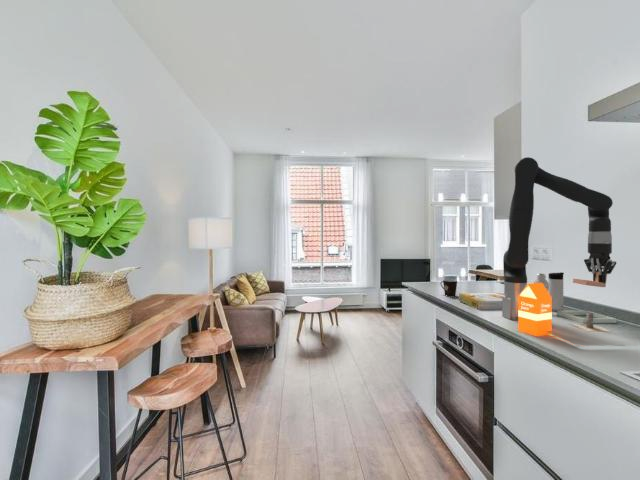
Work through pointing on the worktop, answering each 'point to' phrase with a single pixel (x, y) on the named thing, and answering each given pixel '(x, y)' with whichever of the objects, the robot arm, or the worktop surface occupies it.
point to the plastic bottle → (542, 280)
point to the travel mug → (556, 290)
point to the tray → (598, 319)
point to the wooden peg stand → (589, 325)
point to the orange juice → (535, 310)
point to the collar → (590, 282)
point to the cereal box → (482, 300)
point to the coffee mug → (449, 287)
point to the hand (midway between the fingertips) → (599, 283)
